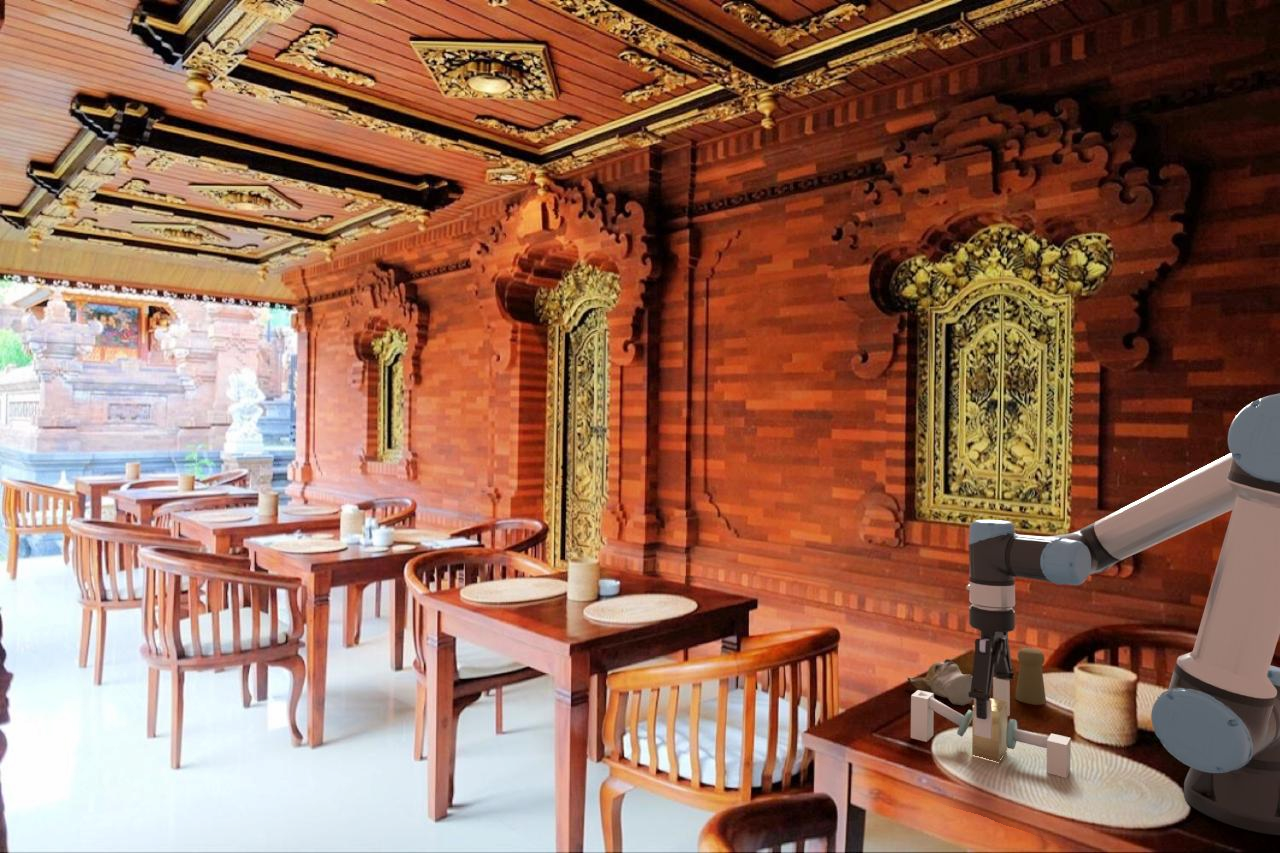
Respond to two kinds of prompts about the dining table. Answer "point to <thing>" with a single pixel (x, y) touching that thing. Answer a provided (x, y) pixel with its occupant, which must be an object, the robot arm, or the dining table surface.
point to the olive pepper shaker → (1030, 677)
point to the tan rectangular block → (993, 734)
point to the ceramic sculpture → (946, 682)
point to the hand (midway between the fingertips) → (992, 724)
